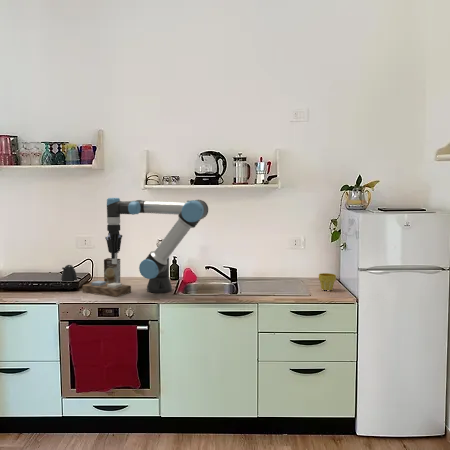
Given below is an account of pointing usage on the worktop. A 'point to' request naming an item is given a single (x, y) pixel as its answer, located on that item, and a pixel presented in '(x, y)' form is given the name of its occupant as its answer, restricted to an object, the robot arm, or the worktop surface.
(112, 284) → the white key
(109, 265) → the coffee box
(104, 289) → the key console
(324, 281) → the plant pot
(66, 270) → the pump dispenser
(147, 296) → the worktop surface
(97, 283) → the blue key
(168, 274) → the robot arm
